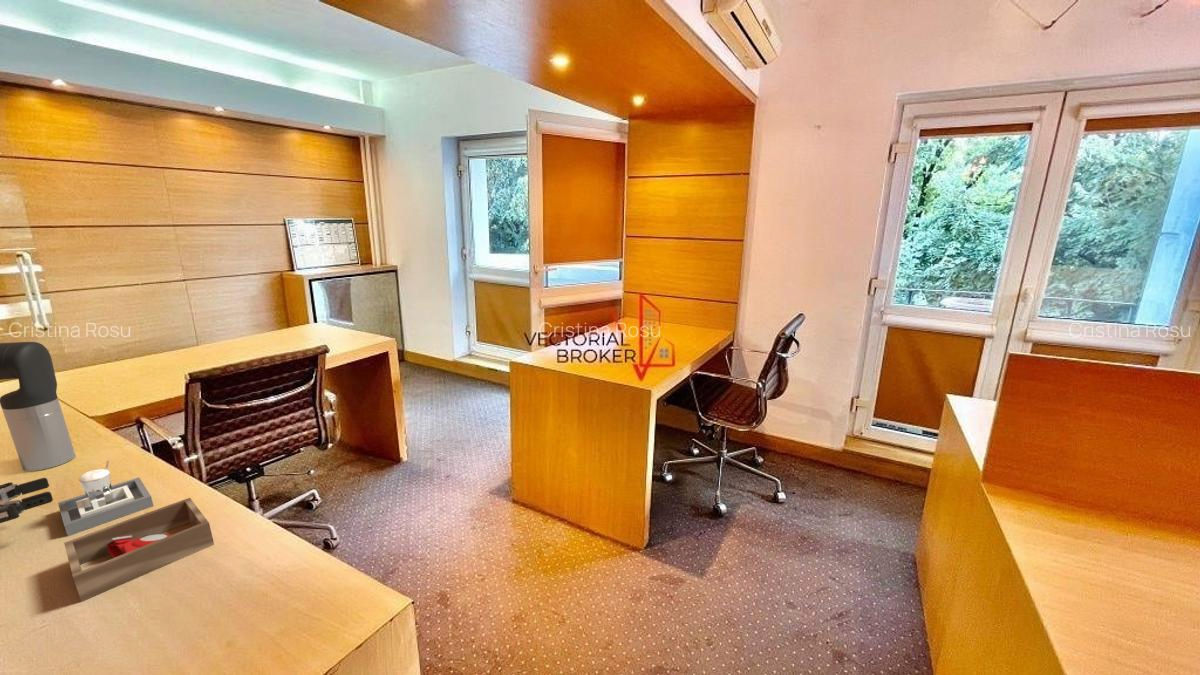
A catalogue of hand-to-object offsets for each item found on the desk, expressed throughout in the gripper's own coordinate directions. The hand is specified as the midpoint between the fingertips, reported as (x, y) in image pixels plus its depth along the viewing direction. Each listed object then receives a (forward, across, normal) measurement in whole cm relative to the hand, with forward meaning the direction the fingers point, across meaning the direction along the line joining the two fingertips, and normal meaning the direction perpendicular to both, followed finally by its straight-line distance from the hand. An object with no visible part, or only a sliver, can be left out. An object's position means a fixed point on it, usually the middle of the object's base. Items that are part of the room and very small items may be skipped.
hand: (49, 488), depth 95 cm
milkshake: (+7, 0, +8) cm, 11 cm away
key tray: (+9, -26, +9) cm, 29 cm away
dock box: (+7, 0, +9) cm, 11 cm away
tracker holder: (+9, -26, +9) cm, 29 cm away
